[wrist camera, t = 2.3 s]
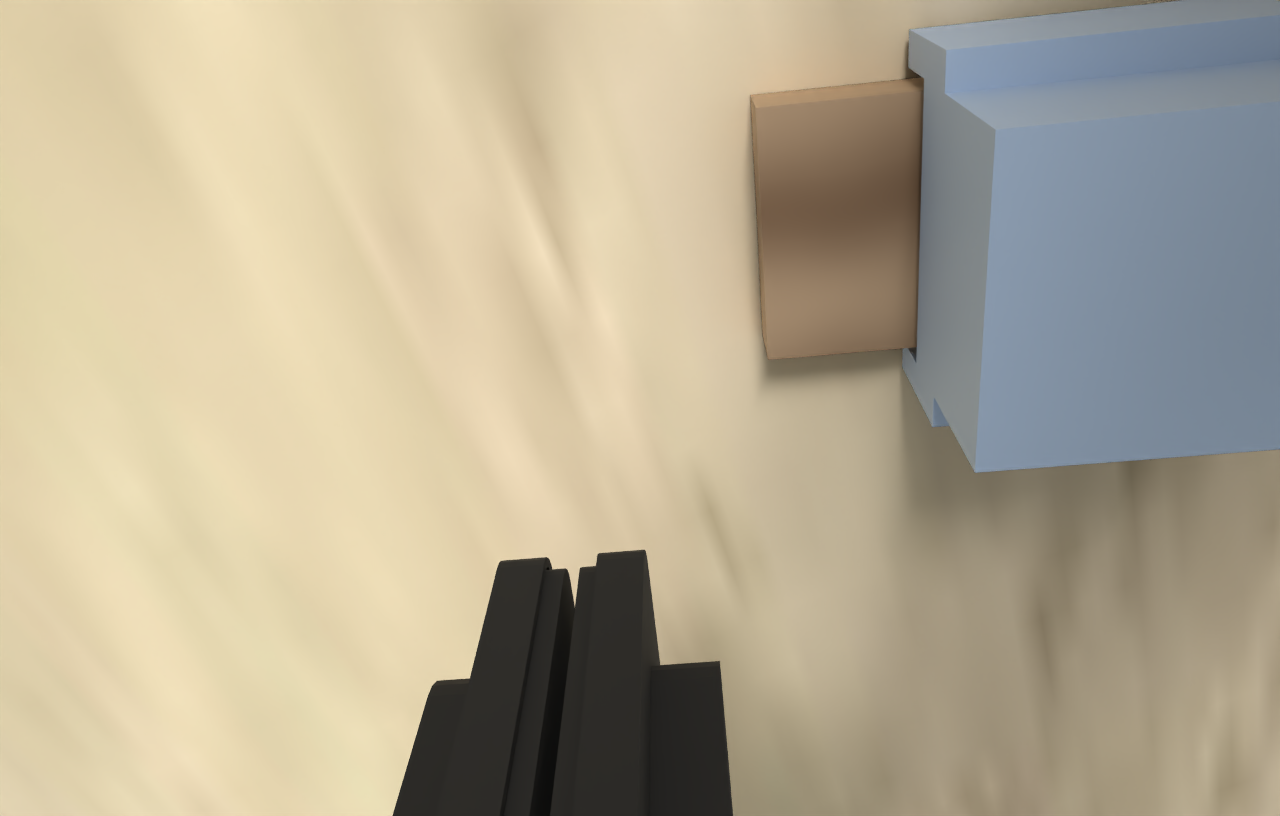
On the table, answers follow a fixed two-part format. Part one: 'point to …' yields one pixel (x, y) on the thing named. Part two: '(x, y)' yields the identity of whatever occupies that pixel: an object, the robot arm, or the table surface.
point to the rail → (839, 216)
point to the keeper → (1101, 234)
